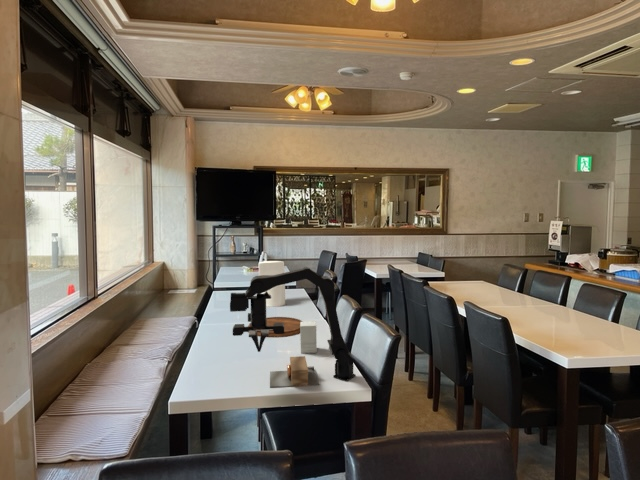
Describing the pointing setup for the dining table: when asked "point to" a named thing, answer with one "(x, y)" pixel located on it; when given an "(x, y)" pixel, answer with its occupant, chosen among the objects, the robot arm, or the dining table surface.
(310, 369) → the pin
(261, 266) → the cylinder
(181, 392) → the dining table surface
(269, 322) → the cutting board
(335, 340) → the robot arm
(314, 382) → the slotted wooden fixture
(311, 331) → the supplement box
